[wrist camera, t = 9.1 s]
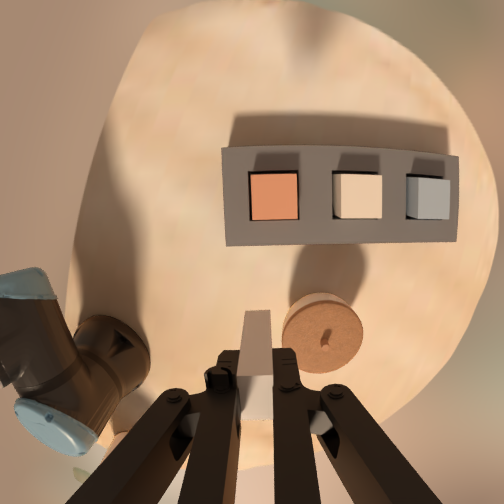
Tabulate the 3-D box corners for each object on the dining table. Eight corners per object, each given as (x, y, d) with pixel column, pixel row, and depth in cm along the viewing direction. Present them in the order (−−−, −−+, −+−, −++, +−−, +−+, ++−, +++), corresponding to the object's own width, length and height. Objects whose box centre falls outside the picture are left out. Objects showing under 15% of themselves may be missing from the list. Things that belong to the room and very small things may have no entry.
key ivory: (332, 213, 38) (341, 218, 33) (331, 174, 36) (340, 174, 32) (368, 213, 37) (381, 218, 32) (368, 175, 36) (381, 175, 31)
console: (230, 238, 42) (225, 246, 37) (227, 151, 39) (221, 147, 34) (439, 235, 40) (456, 241, 35) (440, 157, 37) (458, 156, 32)
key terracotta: (254, 214, 38) (252, 219, 33) (253, 175, 37) (250, 174, 32) (293, 213, 38) (297, 218, 33) (292, 174, 37) (296, 173, 32)
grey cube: (401, 213, 37) (417, 218, 32) (401, 177, 36) (418, 177, 31) (430, 214, 37) (449, 219, 32) (431, 179, 36) (450, 180, 31)
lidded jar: (293, 273, 43) (299, 298, 33) (360, 292, 43) (380, 319, 34) (270, 336, 45) (270, 372, 36) (334, 351, 45) (346, 386, 36)
